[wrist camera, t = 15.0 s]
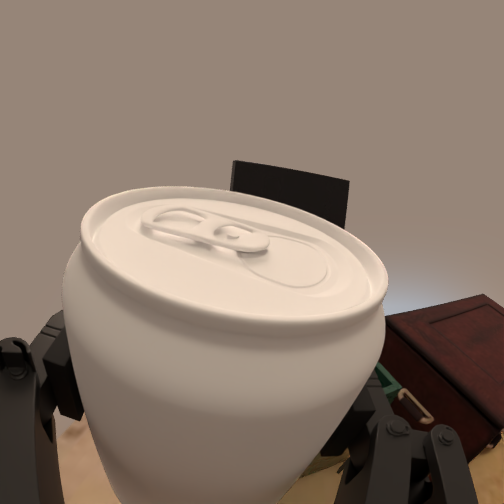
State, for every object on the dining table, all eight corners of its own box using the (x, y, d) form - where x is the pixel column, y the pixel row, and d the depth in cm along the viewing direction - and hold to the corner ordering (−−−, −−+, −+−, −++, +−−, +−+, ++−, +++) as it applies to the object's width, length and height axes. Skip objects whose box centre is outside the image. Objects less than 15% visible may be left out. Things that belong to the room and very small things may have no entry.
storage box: (422, 518, 21) (511, 447, 15) (329, 399, 40) (373, 314, 34) (522, 407, 38) (563, 349, 32) (456, 347, 57) (487, 290, 51)
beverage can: (254, 565, 8) (455, 404, 3) (77, 491, 9) (-19, 232, 4) (290, 435, 15) (382, 229, 10) (154, 387, 16) (170, 171, 12)
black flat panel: (349, 180, 33) (345, 180, 34) (235, 160, 28) (232, 160, 28) (332, 307, 36) (328, 305, 36) (221, 315, 30) (218, 312, 31)
